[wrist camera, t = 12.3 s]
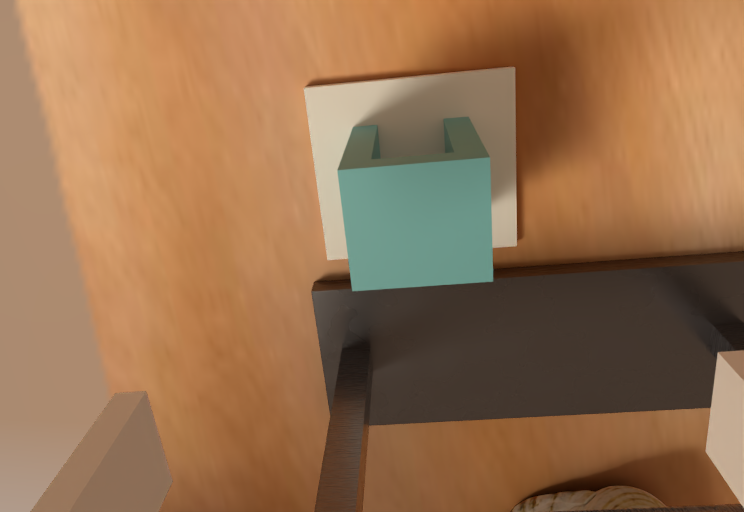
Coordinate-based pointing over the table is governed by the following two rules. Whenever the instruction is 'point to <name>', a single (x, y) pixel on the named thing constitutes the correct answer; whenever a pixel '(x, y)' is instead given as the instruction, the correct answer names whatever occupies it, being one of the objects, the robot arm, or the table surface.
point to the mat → (415, 134)
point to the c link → (417, 211)
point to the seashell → (590, 500)
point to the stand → (523, 351)
